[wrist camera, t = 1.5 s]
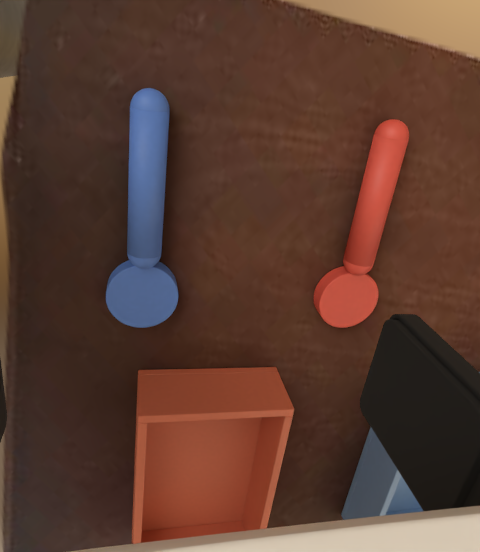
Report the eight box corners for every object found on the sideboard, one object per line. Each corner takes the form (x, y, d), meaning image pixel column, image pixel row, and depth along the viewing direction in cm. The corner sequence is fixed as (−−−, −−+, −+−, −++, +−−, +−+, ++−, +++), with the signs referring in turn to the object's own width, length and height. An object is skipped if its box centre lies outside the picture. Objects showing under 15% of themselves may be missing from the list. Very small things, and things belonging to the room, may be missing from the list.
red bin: (245, 517, 40) (257, 568, 36) (132, 529, 38) (131, 585, 34) (276, 366, 33) (294, 409, 29) (138, 369, 31) (137, 416, 27)
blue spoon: (106, 81, 23) (104, 83, 21) (192, 92, 24) (196, 95, 22) (106, 318, 28) (104, 335, 27) (174, 318, 30) (177, 334, 28)
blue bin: (430, 504, 45) (458, 548, 41) (340, 514, 43) (361, 561, 39) (491, 371, 38) (533, 408, 34) (387, 374, 36) (419, 414, 32)
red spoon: (354, 113, 26) (369, 117, 24) (419, 121, 27) (438, 125, 25) (307, 319, 32) (317, 334, 30) (362, 319, 33) (375, 334, 31)
